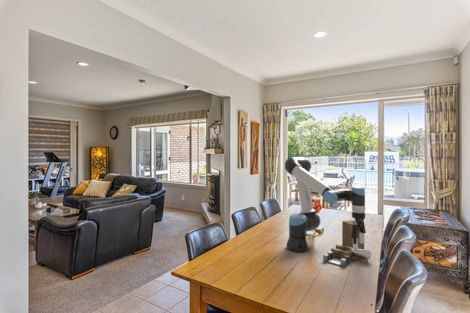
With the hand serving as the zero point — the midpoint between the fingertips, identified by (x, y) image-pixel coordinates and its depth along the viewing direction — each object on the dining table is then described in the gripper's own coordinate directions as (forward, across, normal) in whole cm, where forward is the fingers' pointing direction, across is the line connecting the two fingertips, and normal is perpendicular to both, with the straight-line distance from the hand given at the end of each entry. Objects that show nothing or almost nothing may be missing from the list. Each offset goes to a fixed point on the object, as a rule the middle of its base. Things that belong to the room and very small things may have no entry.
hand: (358, 245), depth 164 cm
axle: (+7, 0, +1) cm, 7 cm away
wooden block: (+9, +13, +8) cm, 18 cm away
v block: (+9, -12, +10) cm, 18 cm away
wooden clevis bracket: (+9, 0, +5) cm, 10 cm away
